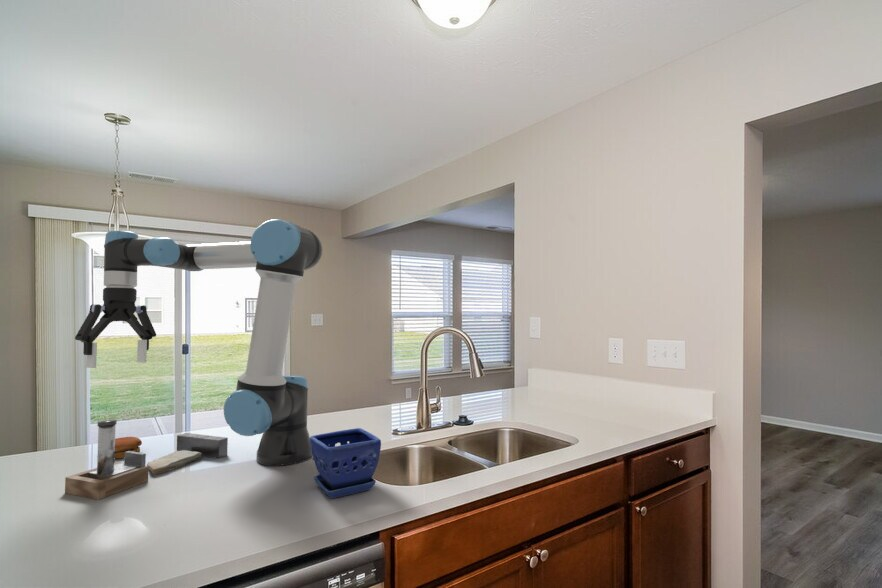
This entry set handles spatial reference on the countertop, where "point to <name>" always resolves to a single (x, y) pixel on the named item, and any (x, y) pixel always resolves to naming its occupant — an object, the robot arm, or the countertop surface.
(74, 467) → the countertop surface
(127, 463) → the ram
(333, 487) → the flower pot
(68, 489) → the frame
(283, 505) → the countertop surface
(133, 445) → the burger
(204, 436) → the grey rectangular bar
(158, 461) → the stone
